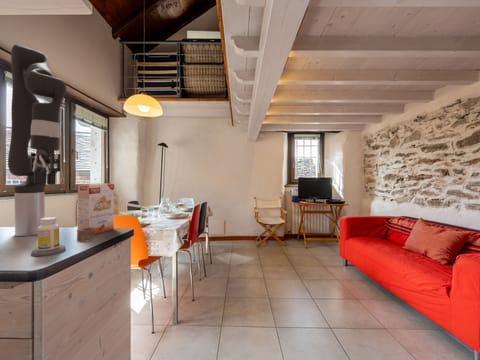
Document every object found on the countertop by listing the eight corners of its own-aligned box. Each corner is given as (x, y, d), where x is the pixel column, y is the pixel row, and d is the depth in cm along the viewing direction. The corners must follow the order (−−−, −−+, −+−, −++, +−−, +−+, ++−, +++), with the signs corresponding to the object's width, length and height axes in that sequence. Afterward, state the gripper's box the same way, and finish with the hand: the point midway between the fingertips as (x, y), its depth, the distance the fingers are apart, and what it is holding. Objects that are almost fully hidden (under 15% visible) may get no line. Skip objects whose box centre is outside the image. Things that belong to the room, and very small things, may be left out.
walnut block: (77, 240, 89) (77, 229, 89) (87, 237, 92) (87, 227, 92) (83, 241, 87) (83, 231, 87) (94, 239, 91) (94, 228, 91)
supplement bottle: (56, 244, 79) (55, 216, 79) (62, 248, 76) (61, 218, 76) (35, 249, 75) (35, 218, 75) (40, 252, 72) (40, 220, 71)
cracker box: (89, 237, 93) (89, 184, 93) (76, 236, 95) (76, 184, 94) (115, 229, 107) (114, 183, 107) (103, 228, 108) (103, 183, 108)
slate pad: (25, 253, 73) (25, 250, 73) (56, 246, 81) (56, 243, 81) (40, 258, 70) (40, 254, 70) (71, 250, 77) (71, 246, 77)
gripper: (21, 134, 79) (20, 182, 79) (43, 133, 72) (42, 185, 73) (47, 137, 85) (46, 182, 86) (69, 136, 79) (68, 184, 80)
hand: (44, 183), depth 79 cm, fingers open, 8 cm apart
